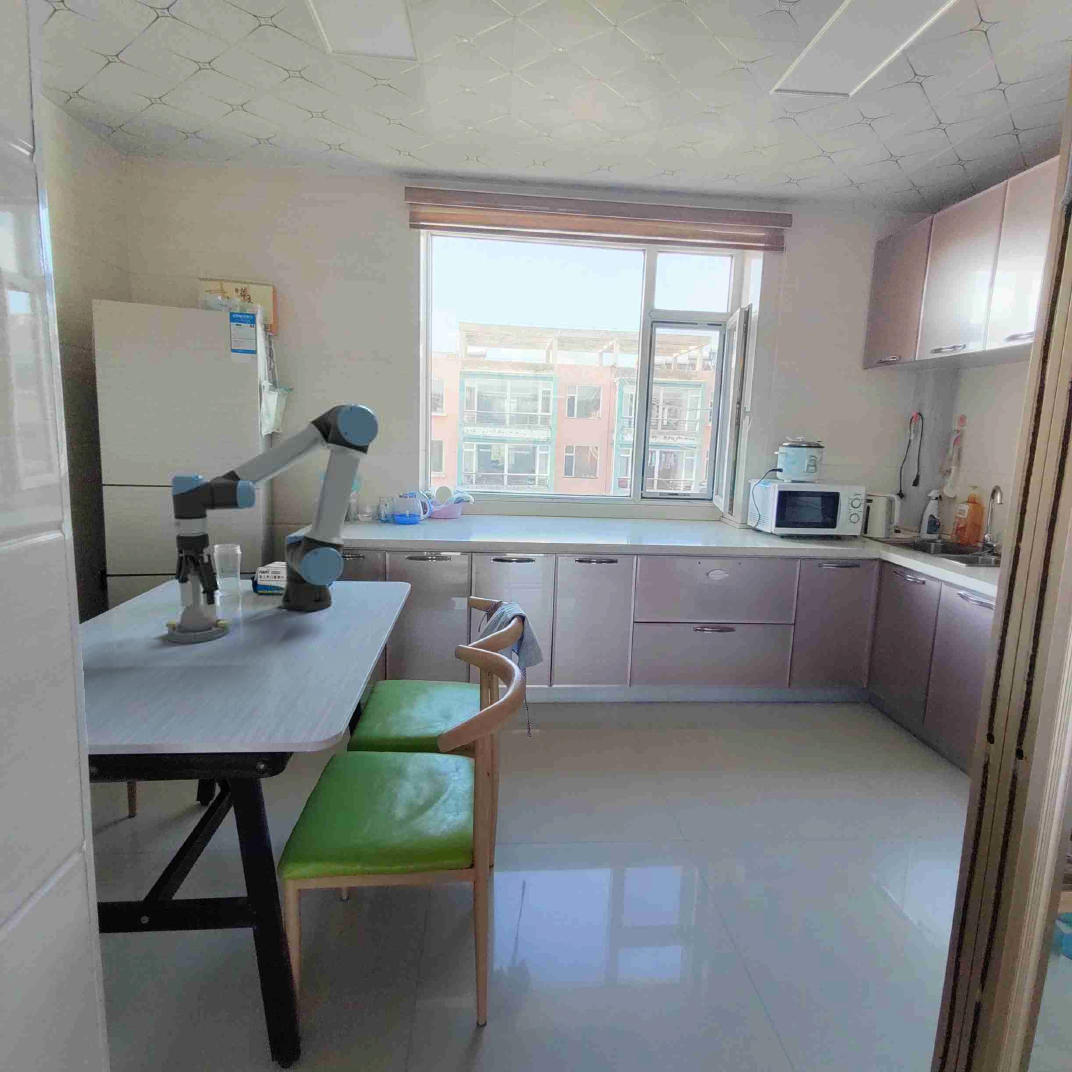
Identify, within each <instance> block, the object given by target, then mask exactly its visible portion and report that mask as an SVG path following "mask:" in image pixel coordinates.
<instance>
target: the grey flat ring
mask: <svg viewBox="0 0 1072 1072" xmlns="http://www.w3.org/2000/svg"><path fill="white" fill-rule="evenodd" d="M165 625H166V628H167V633H166V639H167V640H168V641H169V642H171V643H175V644H176V643H177V644H198V643H205V642H209V641H214V640H217V639H220V638H223V637H225V636H226V635H228V634H229V633H230V620H226V619H223V618H219V617H217V621H216V625H215V626H213V627H212V628H213V630H210V631H204V632H198V633H185V631H186V630H183V629H182V627H181V624H180V621H179V620H177V621H175V620H174V621H173V620H171V621H168V622H166V623H165Z"/></svg>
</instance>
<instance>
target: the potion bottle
mask: <svg viewBox="0 0 1072 1072" xmlns="http://www.w3.org/2000/svg"><path fill="white" fill-rule="evenodd" d="M190 573H191V574H188V575H187V576H188V580H189V581H188V582H191V586H192V600H193V604H192V605H189V606H186V607H184V609H183V611H182V613H181V614H180V615H181V616H180V619H179V620H180V621H179V622H180V624H181V627H182V629H183V630H186V631H185V633H198V632H204V631H210V630H213V628H212V627H213V626H215V625H216V621H217V618H218V615H217V614H216V615H213V616H209V617H204V607H203V597H202V585H201V583H200V580H199V578H198V576H197V573H196V572H194V571H193V569H192V568H191V567H190Z"/></svg>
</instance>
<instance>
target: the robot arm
mask: <svg viewBox="0 0 1072 1072" xmlns="http://www.w3.org/2000/svg"><path fill="white" fill-rule="evenodd" d="M378 433H379V422H378V419H377V417H376V416H375V414H374V412H373V411H372V410H371V409H369V408H368V407H366V406H364V405H361V404H356V403H350V404H341V405H336V406H333V407H331V408H330V409H328V410H327V411H326V412H323V413H322V414H321V415H319V416H317V417H316V418H314V419H313V420H311V421H309V422H308V423H307V426H306V427H305V428H304V429H303V430H300V431H299V432H297V433H295V434H294V435H292V436H289V437H288V438H286V439H284V440H283V441H280V442H279V443H277V444H276V445H273V446H272V447H271V448H269V449H266V450H265V451H264V452H261V453H260V454H258V455H256V456H255V457H253V458H251V459H249V460H248V461H246V462H244V463H242V464H240V465H239V466H237V467H235V468H233V469H232V470H230V471H228V472H226V473H225V474H222V475H218V476H216V477H213V478H212V479H210V480H209V481H206V480H205V477H204V476H203V475H202V474H178V475H177V474H176V475H175V476H173V477H172V479H171V489H172V490H171V495H172V504H173V515H174V522H173V524H172V525H173V526H174V527H175V533H176V534H177V535H176V536H175V540H176V548H177V561H176V568H175V576H174V579H175V580H178V581H177V582H178V583H179V590H180V593H179V594H180V602H181V607H182V608H185V607H186V606H189V605H192V604H193V600H192V586H191V582H190V581H189V580H188V576H187V575H188V574H191V573H190V567H191V568H192V569H193V571H194V572H196V573H197V576H198V578H199V580H200V584H201V589H202V590H201V595H202V603H203V607H204V617H209V616H213V615H217V609H216V607H217V606H216V595H215V592H216V591H219V585H218V584H219V583H218V580H217V577H216V573H215V570H214V567H213V564H212V557H211V554H210V553H206V554H205V552H204V550H205V549H207V548H209V547H210V540H209V539H210V536H209V534H208V533H207V532H208V531H209V522H208V520H209V519H208V514H207V511H215V510H217V511H218V510H244V509H251V508H253V507H254V506H255V505H256V490H255V488H257V487H258V486H260V485H262V484H264V483H265V482H267V481H269V480H271V479H272V478H275V477H276V476H278V475H279V474H281V473H283V472H285V471H286V470H288V469H290V468H291V467H293V466H295V465H297V464H298V463H300V462H302V461H304V460H305V459H307V458H309V457H310V456H312V455H314V454H315V453H317V452H319V451H321V450H322V451H328V450H329V451H330V452H329V453H330V454H329V457H328V462H327V465H326V469H325V473H324V476H323V481H322V484H321V489H320V492H319V496H318V500H317V503H316V509H315V513H314V516H313V519H312V520H313V521H312V523H311V528H310V529H309V530H308V531H306V532H305V533H304V534H291V535H290V534H289V535H287V536H285V538H284V558H285V579H286V580H285V581H286V583H285V587H284V590H283V594H282V596H281V600H280V601H281V602H280V603H281V608H282V609H283V610H285V611H289V612H299V613H301V612H315V611H320V610H324V609H326V608H329V607H330V606H332V604H333V599H332V593H331V592H330V588H329V587H328V585H329V584H331V583H334V582H335V581H336V580H338V578H340V576H341V575H342V573H343V569H344V559H343V557H342V552H343V548H344V544H345V543H344V540H343V539H342V536H341V535H342V532H343V527H344V524H345V519H346V516H347V511H348V508H349V505H350V500H351V496H352V492H353V489H354V484H355V480H356V477H357V472H358V469H359V465H360V461H361V459H363V458H364V457H366V456H367V455H368V452H369V451H368V450H369V447H370V444H371V443H373V441H374V440H375V439H376V438H377V436H378Z"/></svg>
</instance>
